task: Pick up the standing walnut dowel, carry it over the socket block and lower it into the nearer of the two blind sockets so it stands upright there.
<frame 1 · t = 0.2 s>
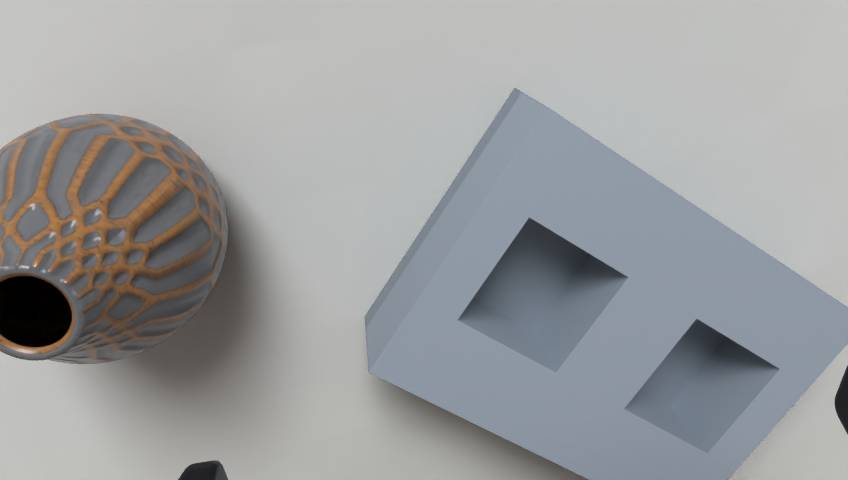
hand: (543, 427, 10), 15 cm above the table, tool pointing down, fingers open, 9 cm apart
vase: (140, 198, 23), on the table
socket block: (586, 295, 26), on the table
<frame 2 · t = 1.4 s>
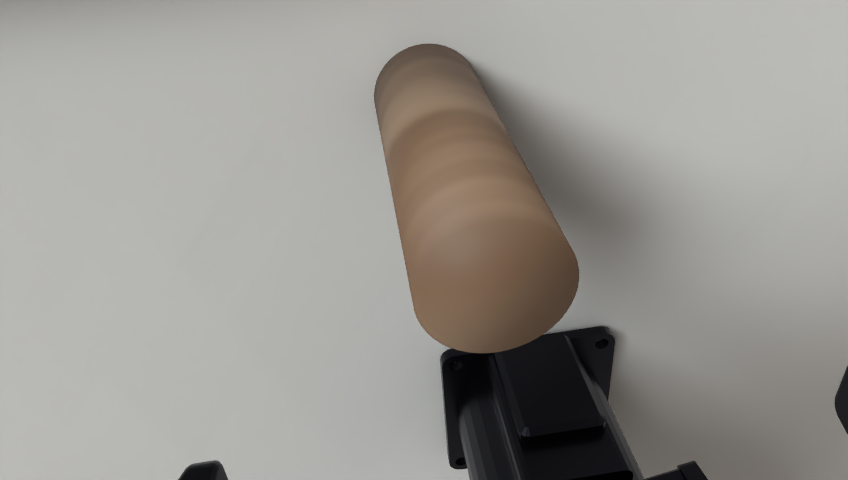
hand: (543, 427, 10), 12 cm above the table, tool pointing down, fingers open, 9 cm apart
dowel: (426, 95, 19), on the table
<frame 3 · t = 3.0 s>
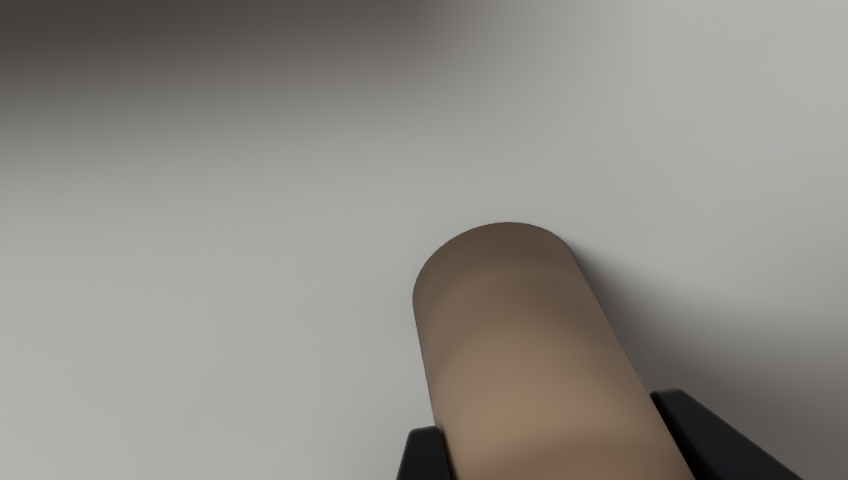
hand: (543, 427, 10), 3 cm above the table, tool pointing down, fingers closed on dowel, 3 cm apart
dowel: (496, 293, 12), on the table, touching gripper
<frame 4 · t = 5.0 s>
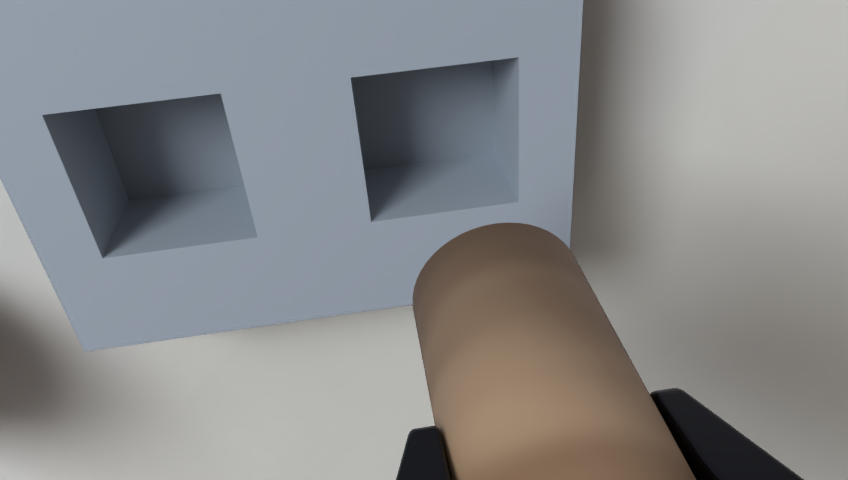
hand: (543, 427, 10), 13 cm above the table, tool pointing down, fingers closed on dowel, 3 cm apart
socket block: (303, 101, 20), on the table
dowel: (496, 294, 12), point 10 cm above the table, touching gripper
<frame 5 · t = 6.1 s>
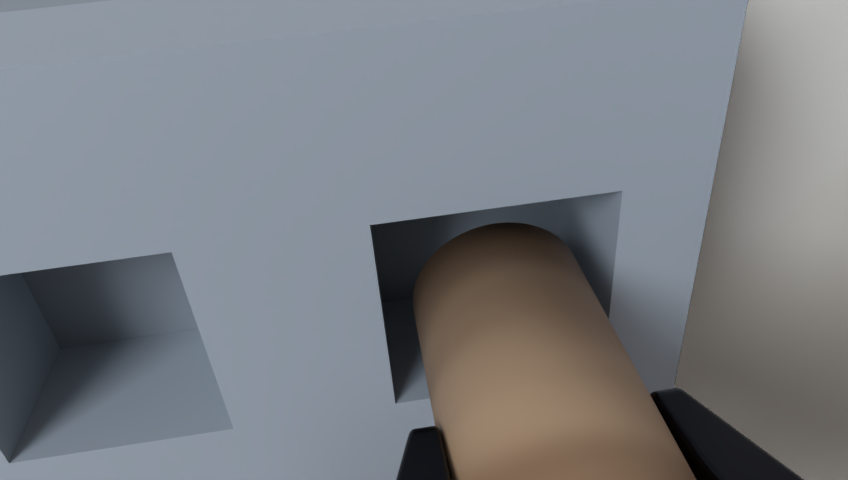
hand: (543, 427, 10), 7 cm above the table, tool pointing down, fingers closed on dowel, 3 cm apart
socket block: (299, 212, 15), on the table
dowel: (496, 294, 12), point 4 cm above the table, touching gripper
when the fingers open (5 cm above the table, at t = 7.1 s): dowel stays where it is, resting on socket block.
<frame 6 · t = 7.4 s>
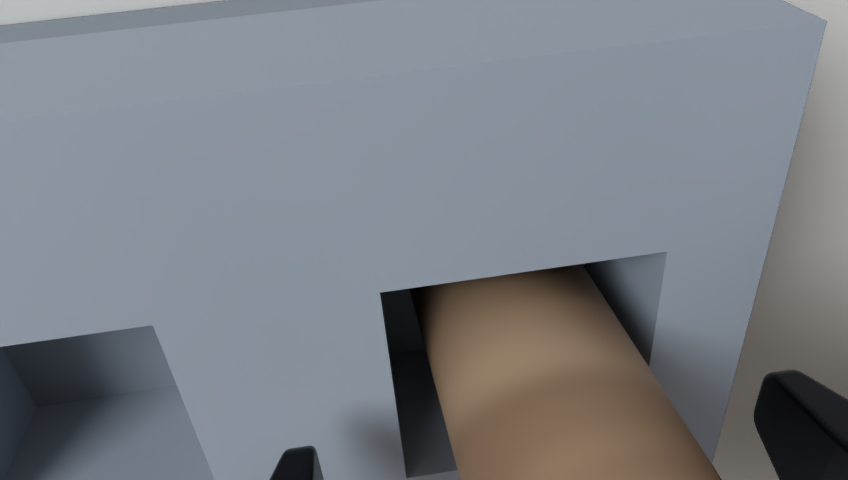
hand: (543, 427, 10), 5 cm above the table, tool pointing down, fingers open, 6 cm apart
socket block: (299, 257, 13), on the table
dowel: (485, 263, 13), point 1 cm above the table, touching socket block
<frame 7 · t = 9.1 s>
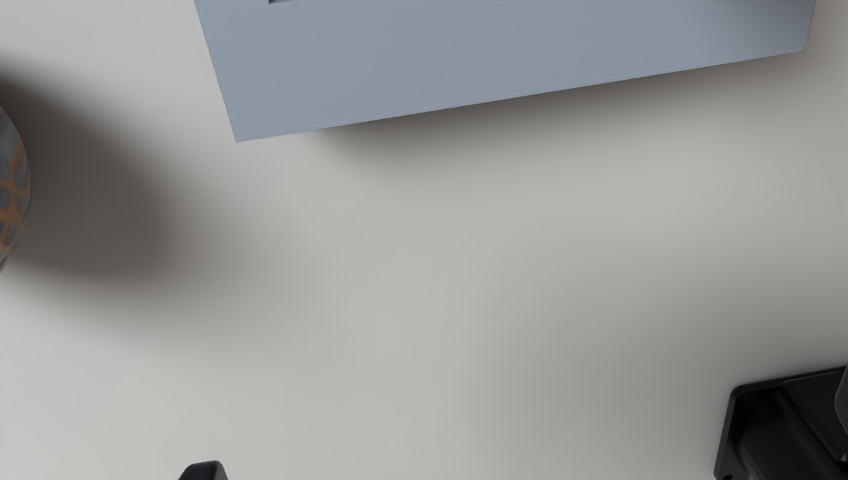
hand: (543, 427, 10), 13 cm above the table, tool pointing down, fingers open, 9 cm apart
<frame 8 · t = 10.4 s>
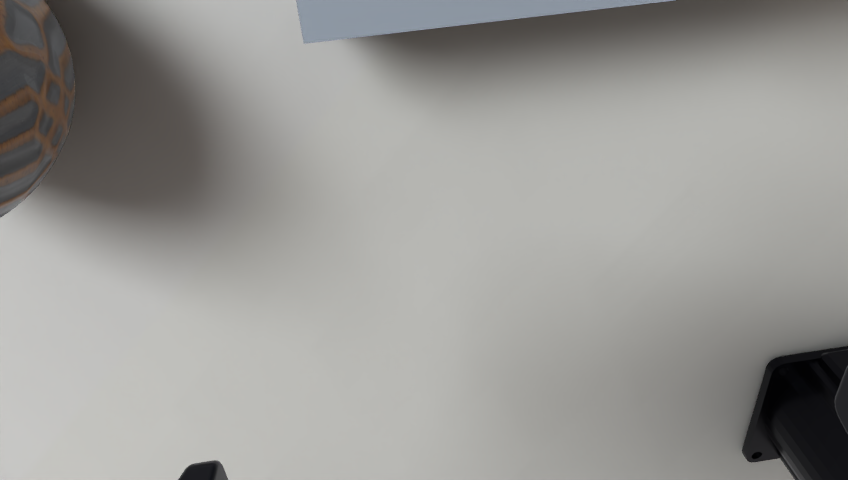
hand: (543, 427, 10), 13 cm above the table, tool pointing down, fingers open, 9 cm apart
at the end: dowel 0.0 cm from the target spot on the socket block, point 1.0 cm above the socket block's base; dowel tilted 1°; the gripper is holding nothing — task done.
